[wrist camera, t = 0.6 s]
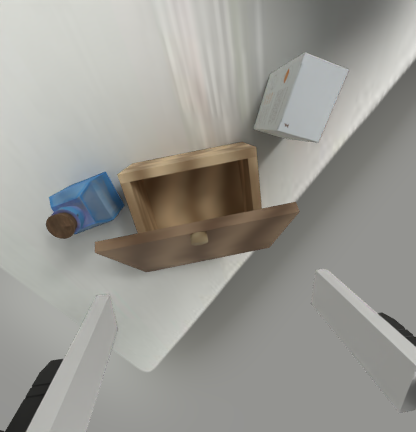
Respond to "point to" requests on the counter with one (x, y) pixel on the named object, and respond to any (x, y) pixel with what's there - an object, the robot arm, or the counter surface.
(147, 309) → the counter surface
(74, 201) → the perfume bottle
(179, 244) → the lid
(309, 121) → the small box
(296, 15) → the counter surface
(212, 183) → the box
